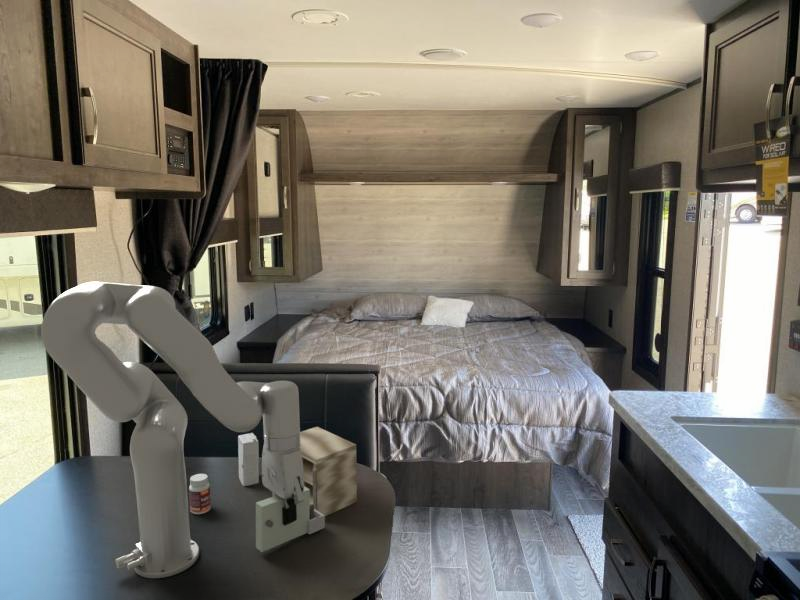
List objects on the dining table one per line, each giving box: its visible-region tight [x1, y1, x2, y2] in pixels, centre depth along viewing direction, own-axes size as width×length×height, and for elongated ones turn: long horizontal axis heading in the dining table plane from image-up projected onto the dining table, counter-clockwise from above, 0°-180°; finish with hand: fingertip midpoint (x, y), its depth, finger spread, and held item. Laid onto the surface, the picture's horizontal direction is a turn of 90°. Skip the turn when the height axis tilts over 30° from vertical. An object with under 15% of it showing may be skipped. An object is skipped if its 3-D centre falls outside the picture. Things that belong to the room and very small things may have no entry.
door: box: [255, 486, 326, 553], centre depth 125 cm, size 16×4×10 cm, turn 134°
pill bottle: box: [188, 473, 212, 515], centre depth 138 cm, size 5×5×8 cm
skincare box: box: [237, 432, 260, 487], centre depth 152 cm, size 6×4×12 cm
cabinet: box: [300, 426, 358, 520], centre depth 140 cm, size 16×19×15 cm
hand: (285, 519), depth 124 cm, fingers closed on door, 2 cm apart
